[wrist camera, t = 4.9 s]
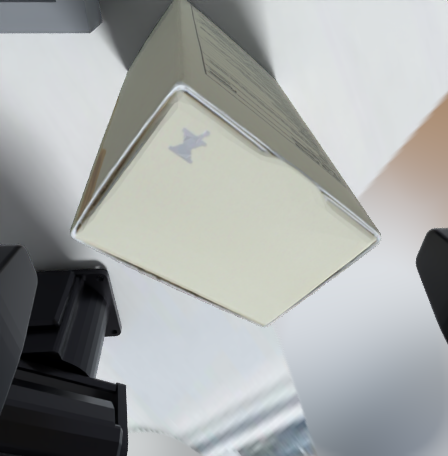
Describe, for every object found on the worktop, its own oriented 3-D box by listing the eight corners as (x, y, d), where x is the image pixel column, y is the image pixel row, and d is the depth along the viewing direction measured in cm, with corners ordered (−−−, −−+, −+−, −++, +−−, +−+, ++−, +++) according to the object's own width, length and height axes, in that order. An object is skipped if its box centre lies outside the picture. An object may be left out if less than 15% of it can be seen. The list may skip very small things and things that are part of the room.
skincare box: (124, 73, 18) (45, 233, 8) (178, -11, 16) (162, 61, 6) (228, 150, 20) (265, 338, 11) (285, 86, 18) (392, 244, 9)
